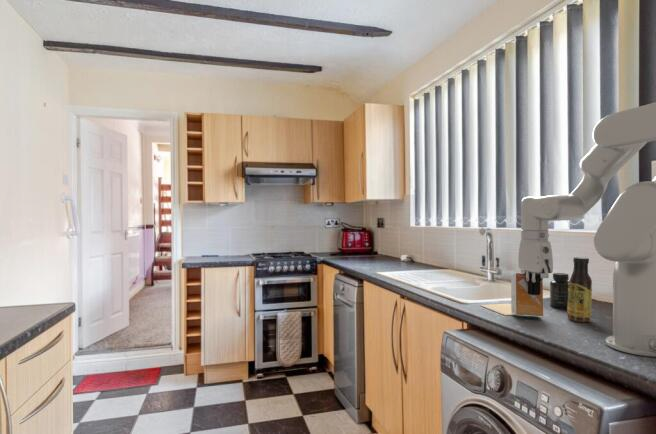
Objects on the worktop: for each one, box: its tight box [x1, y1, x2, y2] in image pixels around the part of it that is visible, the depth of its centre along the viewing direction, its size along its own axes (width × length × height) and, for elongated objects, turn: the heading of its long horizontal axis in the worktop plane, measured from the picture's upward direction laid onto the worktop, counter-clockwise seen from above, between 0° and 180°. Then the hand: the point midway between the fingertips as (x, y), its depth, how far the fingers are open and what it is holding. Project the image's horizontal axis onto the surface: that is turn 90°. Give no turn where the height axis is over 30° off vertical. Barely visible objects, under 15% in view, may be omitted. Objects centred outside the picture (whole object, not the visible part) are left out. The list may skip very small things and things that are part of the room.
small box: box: [510, 272, 544, 317], centre depth 126 cm, size 8×6×13 cm
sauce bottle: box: [566, 256, 593, 323], centre depth 121 cm, size 7×6×20 cm
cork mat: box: [479, 302, 522, 317], centre depth 135 cm, size 14×12×1 cm
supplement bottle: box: [549, 272, 570, 310], centre depth 138 cm, size 7×7×12 cm
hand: (533, 294), depth 121 cm, fingers closed
